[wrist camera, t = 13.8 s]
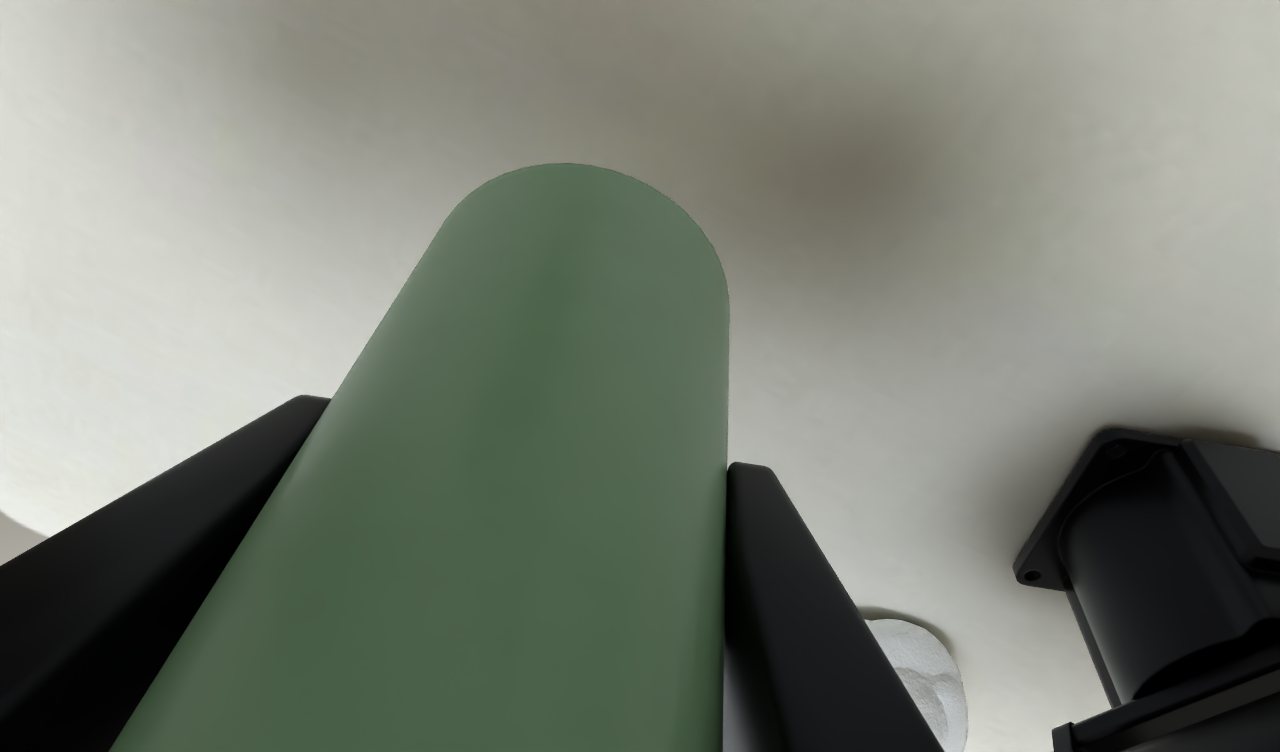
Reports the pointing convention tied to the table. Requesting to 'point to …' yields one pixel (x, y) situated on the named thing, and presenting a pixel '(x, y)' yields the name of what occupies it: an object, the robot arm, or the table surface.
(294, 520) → the green peg
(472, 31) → the table surface
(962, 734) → the dumpling
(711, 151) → the table surface
